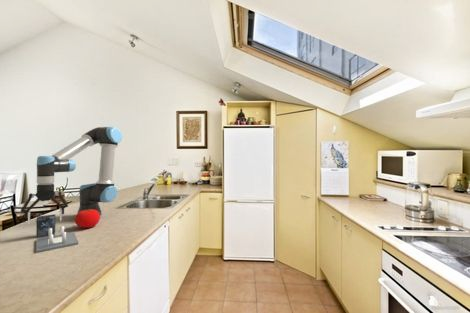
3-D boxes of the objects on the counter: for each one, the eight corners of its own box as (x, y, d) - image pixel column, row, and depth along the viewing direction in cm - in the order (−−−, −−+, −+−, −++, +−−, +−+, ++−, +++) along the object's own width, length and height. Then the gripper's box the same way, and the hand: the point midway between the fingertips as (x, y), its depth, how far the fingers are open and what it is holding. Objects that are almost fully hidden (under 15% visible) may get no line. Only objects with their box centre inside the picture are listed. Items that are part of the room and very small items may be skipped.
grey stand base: (73, 233, 132) (73, 223, 132) (78, 244, 117) (78, 232, 117) (36, 240, 122) (36, 228, 122) (36, 252, 107) (36, 239, 106)
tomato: (104, 224, 148) (104, 207, 148) (85, 231, 136) (84, 212, 136) (90, 223, 152) (90, 206, 152) (70, 229, 140) (70, 210, 140)
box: (36, 238, 125) (36, 218, 125) (37, 235, 130) (37, 216, 130) (54, 235, 130) (54, 216, 130) (55, 232, 134) (55, 214, 134)
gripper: (72, 181, 140) (72, 217, 140) (15, 184, 124) (14, 224, 124) (73, 182, 135) (73, 219, 134) (14, 186, 119) (13, 228, 119)
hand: (45, 222), depth 129 cm, fingers open, 13 cm apart
